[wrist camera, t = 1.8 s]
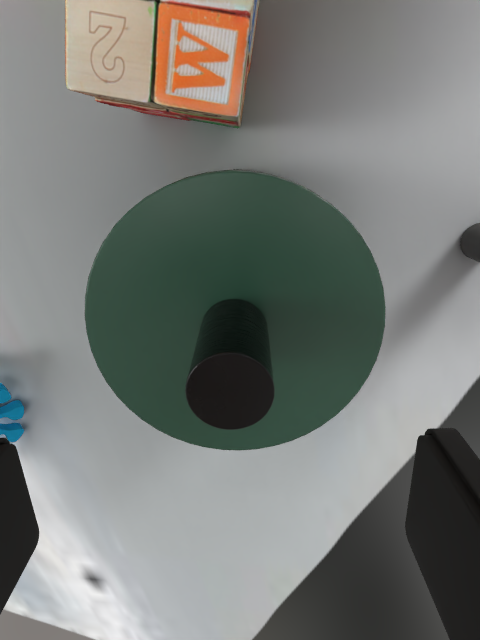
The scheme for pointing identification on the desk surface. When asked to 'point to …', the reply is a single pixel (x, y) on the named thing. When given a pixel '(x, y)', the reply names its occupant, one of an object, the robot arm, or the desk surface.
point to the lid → (235, 310)
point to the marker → (471, 242)
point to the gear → (10, 415)
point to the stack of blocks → (162, 55)
